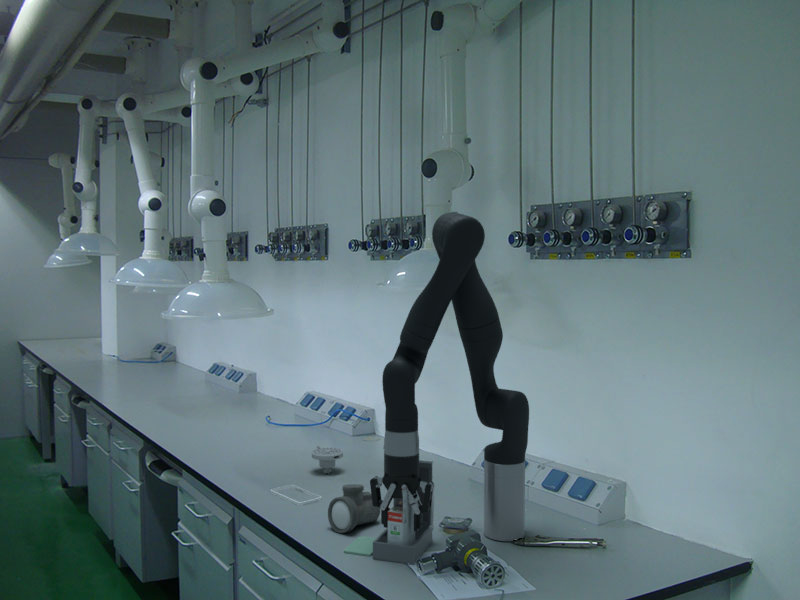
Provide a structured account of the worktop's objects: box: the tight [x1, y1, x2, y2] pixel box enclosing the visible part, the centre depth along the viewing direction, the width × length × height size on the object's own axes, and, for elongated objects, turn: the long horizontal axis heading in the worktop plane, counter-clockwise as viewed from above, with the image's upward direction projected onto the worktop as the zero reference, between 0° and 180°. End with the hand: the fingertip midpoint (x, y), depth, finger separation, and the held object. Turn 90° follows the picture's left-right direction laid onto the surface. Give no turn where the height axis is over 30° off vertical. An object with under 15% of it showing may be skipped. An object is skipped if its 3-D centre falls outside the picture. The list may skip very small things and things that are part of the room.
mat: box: [343, 535, 377, 557], centre depth 148 cm, size 9×6×1 cm, turn 161°
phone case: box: [269, 484, 323, 507], centre depth 183 cm, size 7×1×15 cm
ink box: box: [387, 488, 416, 546], centre depth 145 cm, size 4×8×15 cm, turn 158°
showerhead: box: [311, 445, 344, 474], centre depth 206 cm, size 9×7×10 cm
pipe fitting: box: [327, 483, 381, 534], centre depth 161 cm, size 12×8×10 cm, turn 137°
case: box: [372, 459, 436, 565], centre depth 146 cm, size 14×10×18 cm
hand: (401, 528), depth 145 cm, fingers open, 6 cm apart
